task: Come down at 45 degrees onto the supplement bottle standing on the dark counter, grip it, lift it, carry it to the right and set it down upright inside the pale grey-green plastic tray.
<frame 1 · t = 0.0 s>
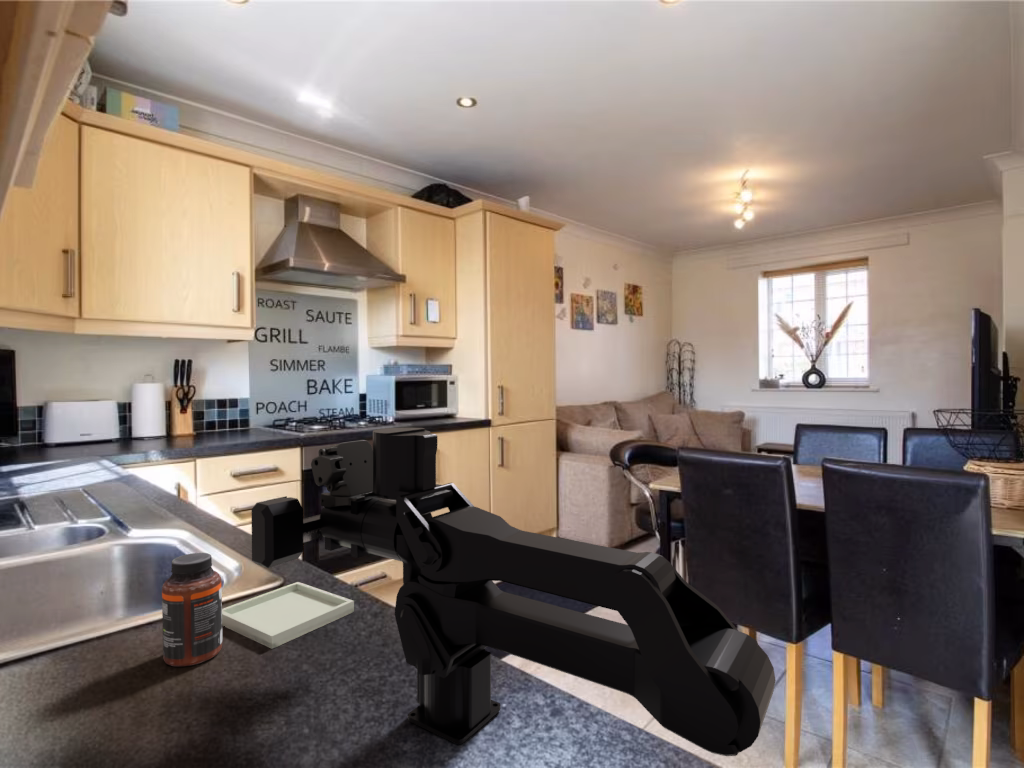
hand: (289, 505, 67), 17 cm above the countertop, tool horizontal, fingers open, 9 cm apart
supplement bottle: (193, 657, 64), on the countertop
tray: (286, 617, 74), on the countertop
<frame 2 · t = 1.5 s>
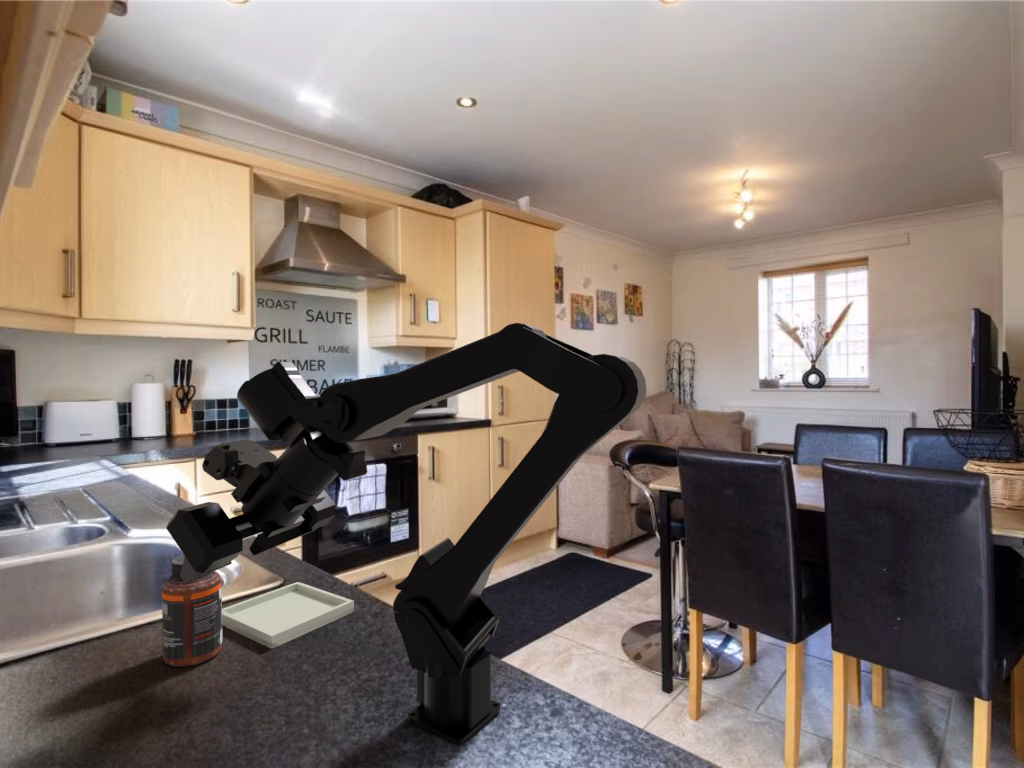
hand: (220, 564, 62), 11 cm above the countertop, tool tilted 45°, fingers open, 9 cm apart
nothing on the countertop moved.
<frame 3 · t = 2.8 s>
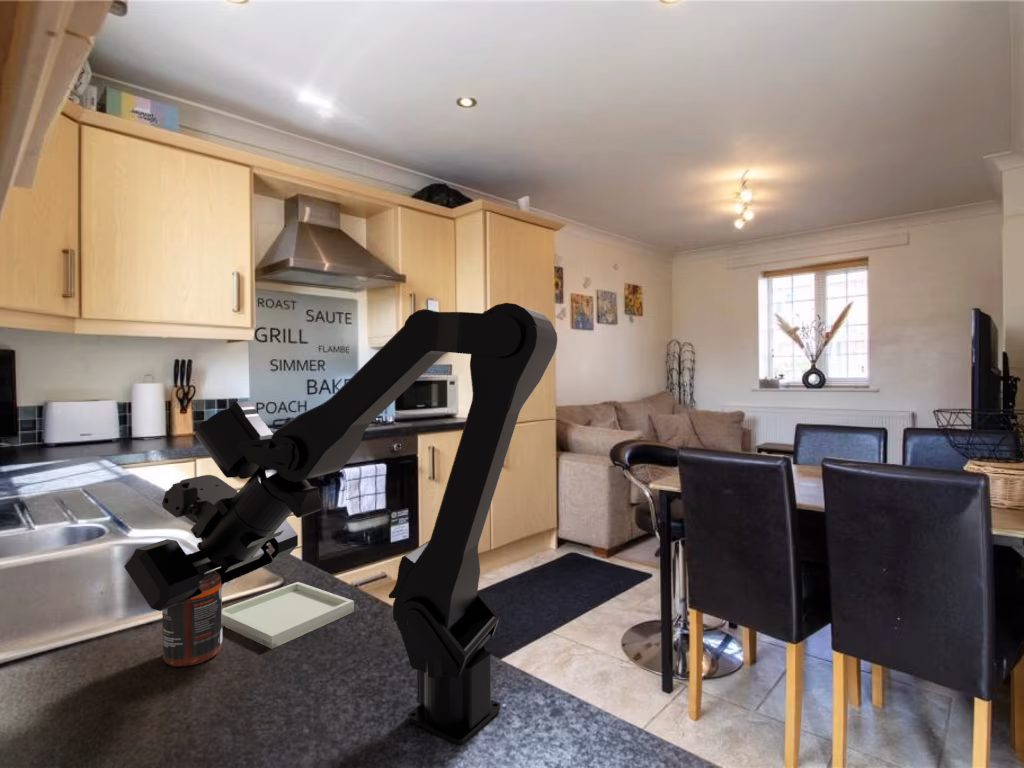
hand: (183, 596, 64), 7 cm above the countertop, tool tilted 45°, fingers closed on supplement bottle, 6 cm apart
supplement bottle: (193, 657, 64), on the countertop, touching gripper
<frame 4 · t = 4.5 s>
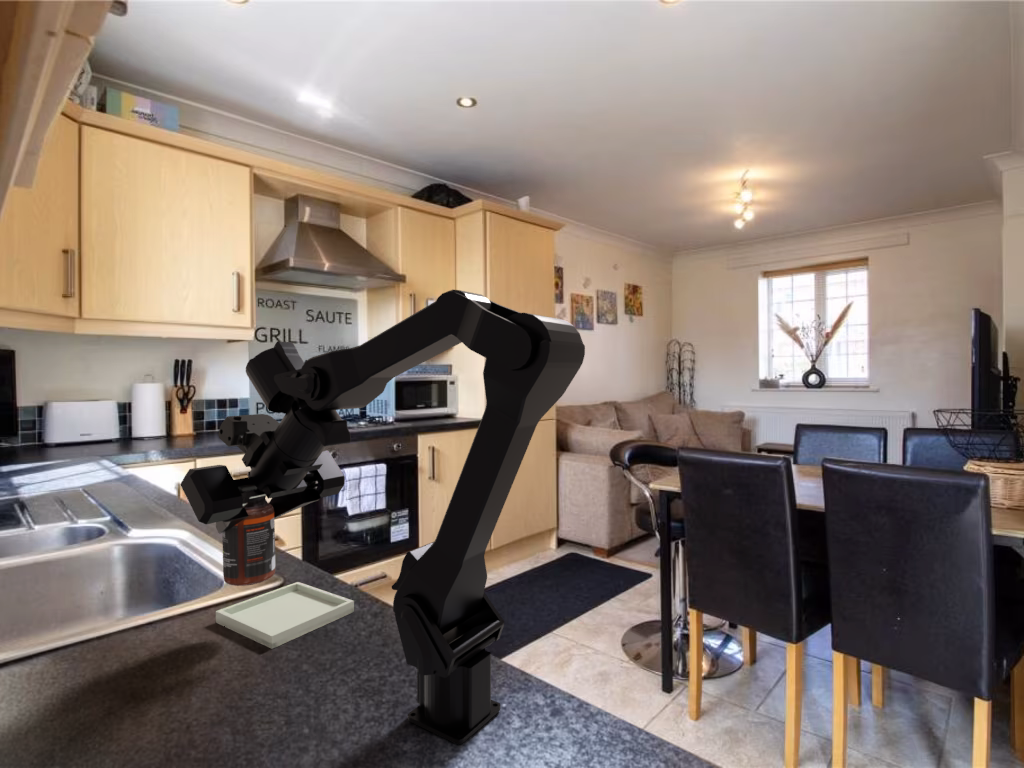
hand: (243, 524, 71), 13 cm above the countertop, tool tilted 45°, fingers closed on supplement bottle, 6 cm apart
supplement bottle: (249, 580, 70), point 6 cm above the countertop, touching gripper
when the fingers open (8 cm above the countertop, at t = 6.1 s): supplement bottle drops 1 cm, resting on tray.
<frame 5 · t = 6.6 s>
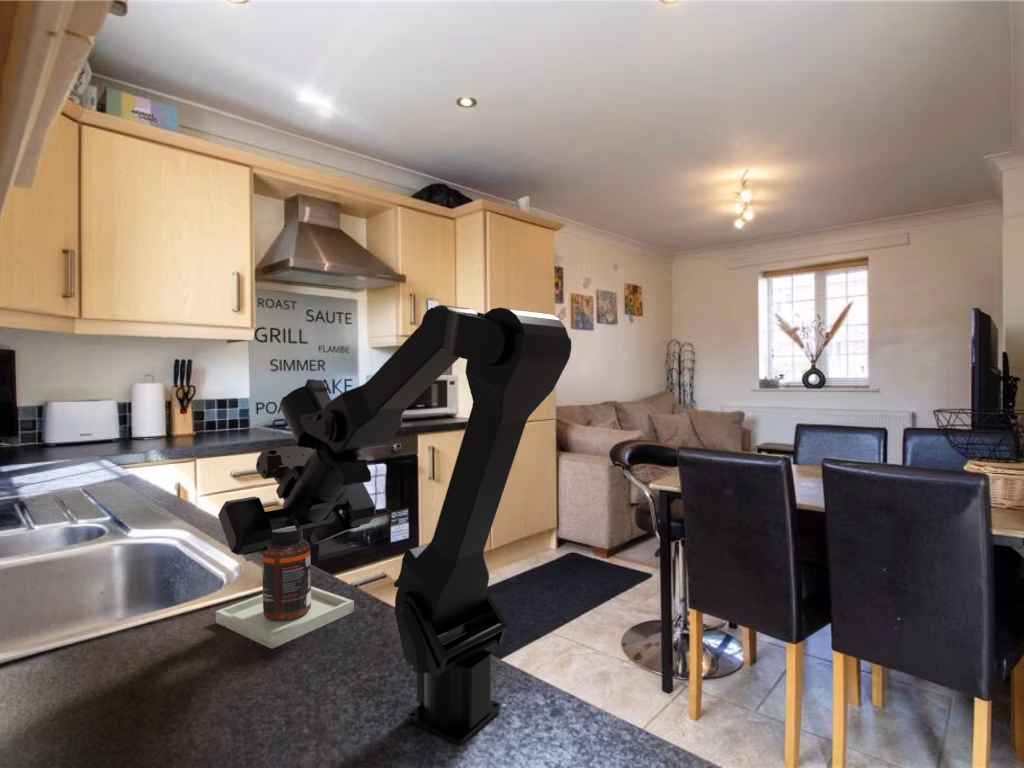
hand: (281, 549, 75), 9 cm above the countertop, tool tilted 45°, fingers open, 9 cm apart
supplement bottle: (287, 614, 74), resting on tray
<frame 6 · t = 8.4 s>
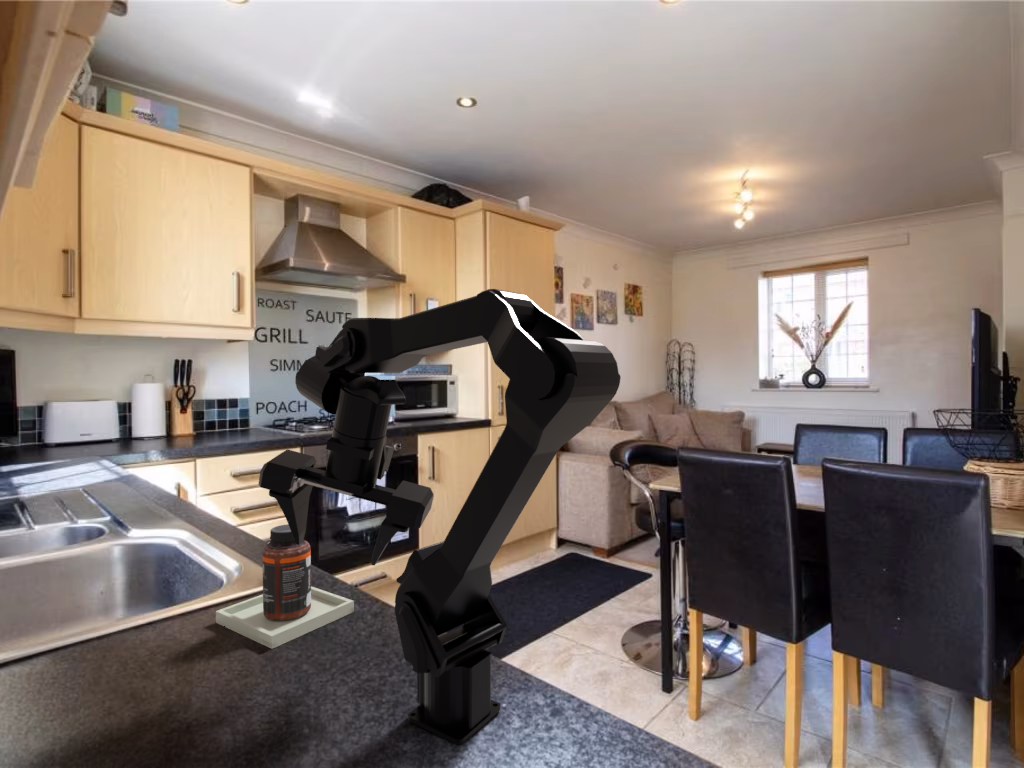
hand: (336, 553, 66), 11 cm above the countertop, tool tilted 20°, fingers open, 9 cm apart
nothing on the countertop moved.
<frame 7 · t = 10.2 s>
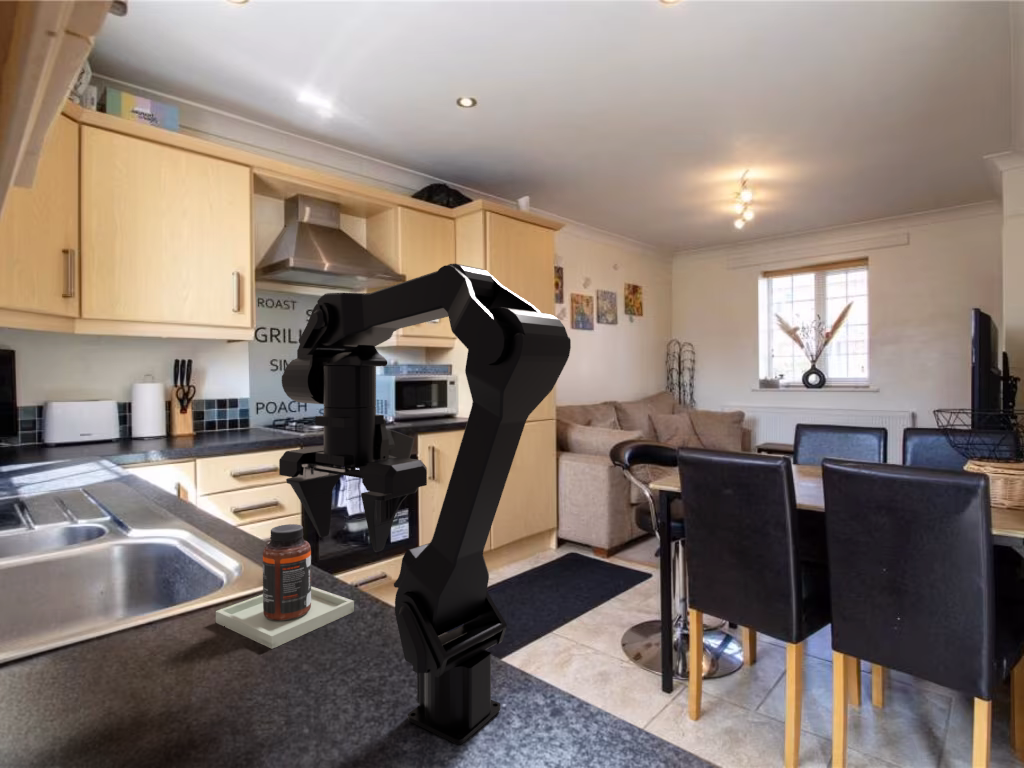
hand: (350, 543, 64), 13 cm above the countertop, tool pointing down, fingers open, 9 cm apart
nothing on the countertop moved.
at the end: supplement bottle inside the target area on the tray (0.2 cm from its centre), point 0.4 cm above the tray's base; supplement bottle tilted 0°; the gripper is holding nothing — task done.
